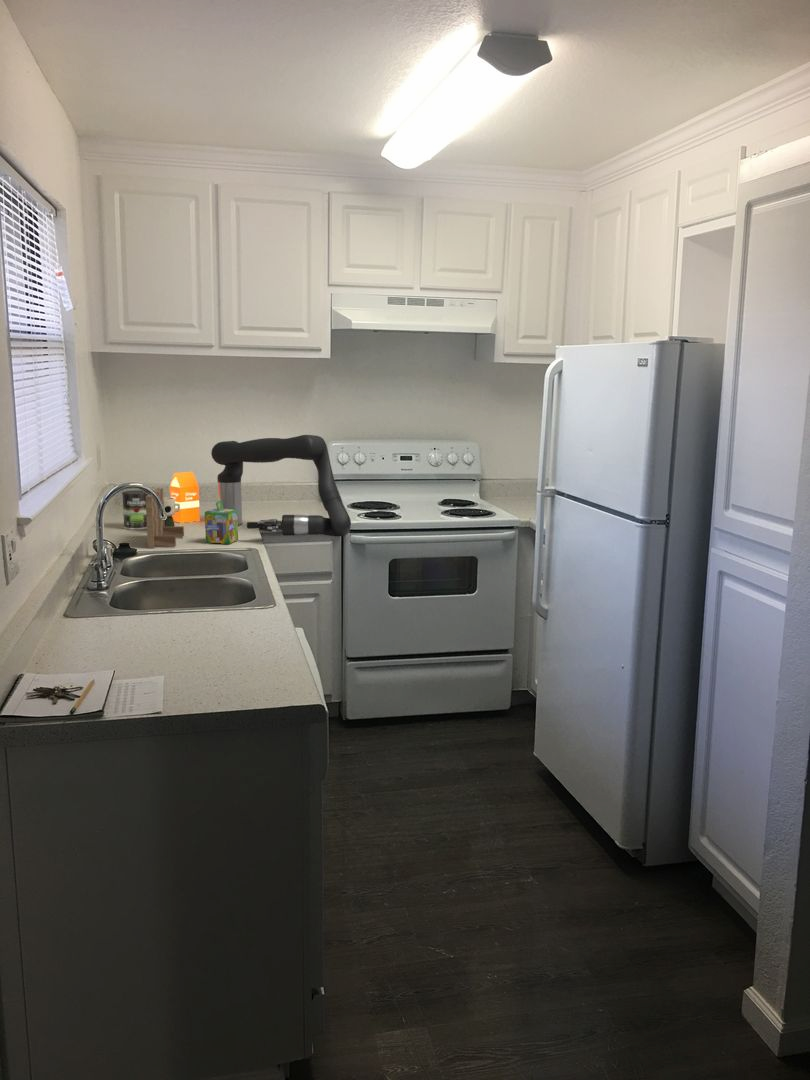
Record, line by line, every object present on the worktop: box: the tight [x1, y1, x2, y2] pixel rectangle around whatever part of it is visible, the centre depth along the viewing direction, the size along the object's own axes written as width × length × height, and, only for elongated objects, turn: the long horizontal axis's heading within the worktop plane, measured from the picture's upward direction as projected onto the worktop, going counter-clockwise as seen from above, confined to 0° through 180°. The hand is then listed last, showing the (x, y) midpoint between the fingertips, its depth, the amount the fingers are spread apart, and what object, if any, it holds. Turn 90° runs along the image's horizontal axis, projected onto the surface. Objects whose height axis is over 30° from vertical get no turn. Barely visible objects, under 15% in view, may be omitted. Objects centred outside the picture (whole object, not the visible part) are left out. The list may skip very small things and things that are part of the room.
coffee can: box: [121, 489, 148, 531], centre depth 337 cm, size 10×10×14 cm
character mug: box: [164, 496, 180, 527], centre depth 327 cm, size 11×7×13 cm, turn 90°
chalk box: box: [204, 500, 239, 545], centre depth 310 cm, size 9×9×15 cm
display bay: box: [146, 487, 185, 549], centre depth 308 cm, size 22×9×18 cm, turn 5°
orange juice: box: [169, 471, 200, 524], centre depth 352 cm, size 8×9×20 cm
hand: (247, 525), depth 311 cm, fingers closed
